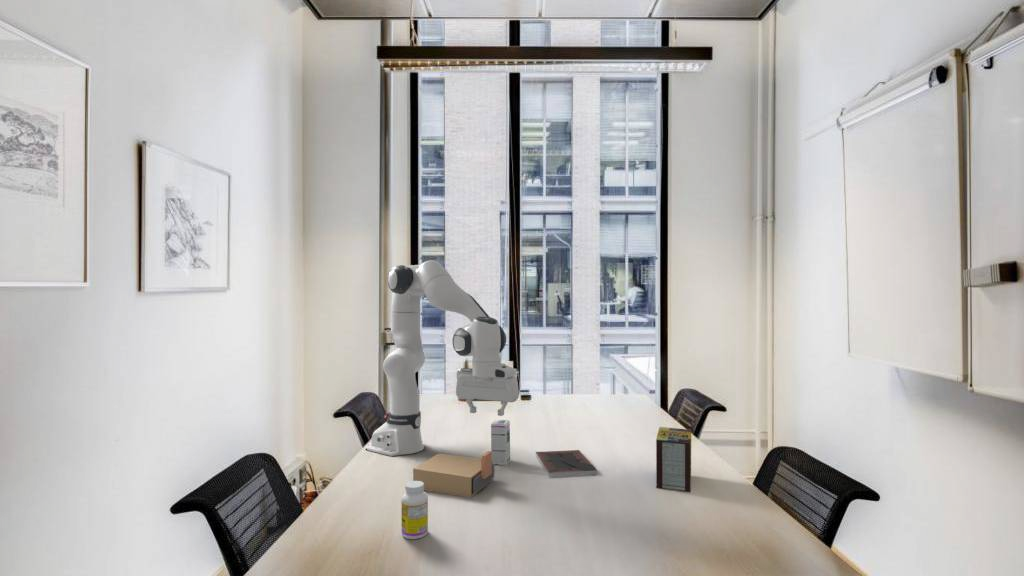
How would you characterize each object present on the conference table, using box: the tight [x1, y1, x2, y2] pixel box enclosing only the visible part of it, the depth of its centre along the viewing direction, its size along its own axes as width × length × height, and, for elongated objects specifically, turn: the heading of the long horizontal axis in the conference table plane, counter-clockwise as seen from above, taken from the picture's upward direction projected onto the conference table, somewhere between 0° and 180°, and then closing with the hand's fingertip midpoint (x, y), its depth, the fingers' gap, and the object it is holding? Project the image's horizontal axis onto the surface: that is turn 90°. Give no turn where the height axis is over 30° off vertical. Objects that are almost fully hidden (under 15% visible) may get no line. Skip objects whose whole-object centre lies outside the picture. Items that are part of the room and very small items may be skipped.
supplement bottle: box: [400, 480, 429, 540], centre depth 135 cm, size 7×7×13 cm
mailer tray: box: [472, 450, 495, 494], centre depth 169 cm, size 22×14×10 cm, turn 68°
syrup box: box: [490, 419, 511, 466], centre depth 190 cm, size 6×6×14 cm
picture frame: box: [535, 449, 598, 478], centre depth 187 cm, size 16×2×22 cm
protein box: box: [655, 426, 692, 493], centre depth 171 cm, size 10×15×16 cm
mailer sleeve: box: [412, 453, 494, 498], centre depth 170 cm, size 20×16×6 cm
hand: (486, 414), depth 165 cm, fingers open, 8 cm apart
